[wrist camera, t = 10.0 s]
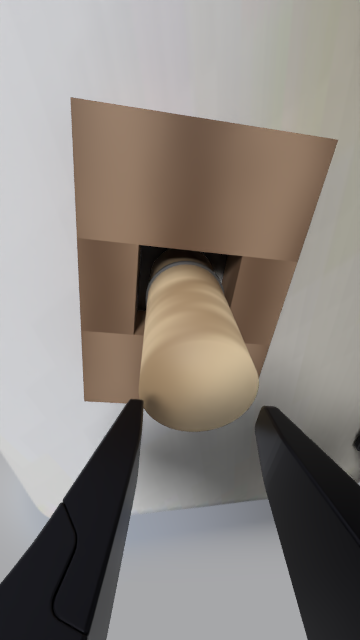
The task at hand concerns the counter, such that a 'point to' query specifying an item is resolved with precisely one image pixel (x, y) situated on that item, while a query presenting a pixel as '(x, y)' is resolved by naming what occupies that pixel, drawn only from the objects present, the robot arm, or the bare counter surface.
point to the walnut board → (183, 222)
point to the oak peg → (192, 348)
